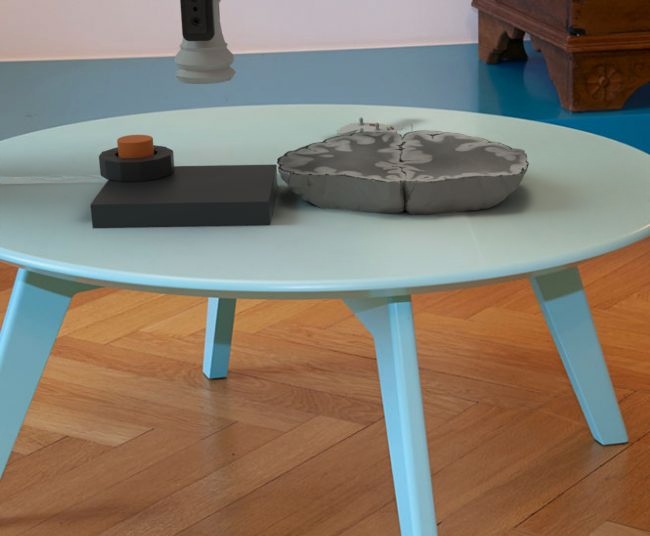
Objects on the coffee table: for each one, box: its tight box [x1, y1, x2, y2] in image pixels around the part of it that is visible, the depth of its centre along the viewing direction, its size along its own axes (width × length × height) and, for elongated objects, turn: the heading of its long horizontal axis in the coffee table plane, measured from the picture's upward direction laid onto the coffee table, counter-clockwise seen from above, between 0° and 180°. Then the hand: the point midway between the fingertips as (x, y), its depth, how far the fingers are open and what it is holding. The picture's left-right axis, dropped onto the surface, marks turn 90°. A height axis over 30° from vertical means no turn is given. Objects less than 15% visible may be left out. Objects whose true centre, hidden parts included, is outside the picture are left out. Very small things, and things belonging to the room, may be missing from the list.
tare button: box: [116, 134, 154, 158], centre depth 90 cm, size 3×3×2 cm
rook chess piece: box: [174, 0, 237, 85], centre depth 81 cm, size 4×4×8 cm
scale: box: [89, 144, 278, 229], centre depth 88 cm, size 14×12×4 cm
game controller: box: [335, 116, 413, 136], centre depth 107 cm, size 6×12×3 cm, turn 167°
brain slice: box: [276, 129, 530, 215], centre depth 91 cm, size 20×17×3 cm
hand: (202, 35), depth 81 cm, fingers closed on rook chess piece, 3 cm apart
